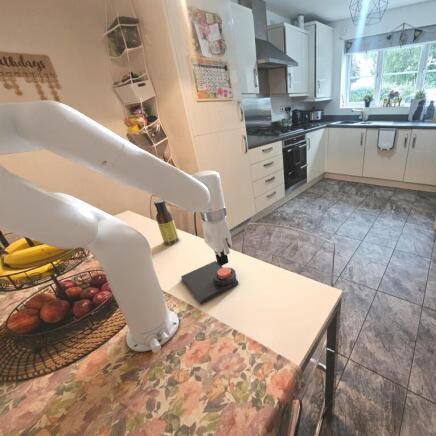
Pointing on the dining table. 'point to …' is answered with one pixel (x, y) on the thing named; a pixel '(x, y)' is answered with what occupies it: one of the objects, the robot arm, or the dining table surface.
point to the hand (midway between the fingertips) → (223, 263)
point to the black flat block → (208, 282)
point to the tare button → (224, 273)
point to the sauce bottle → (166, 223)
